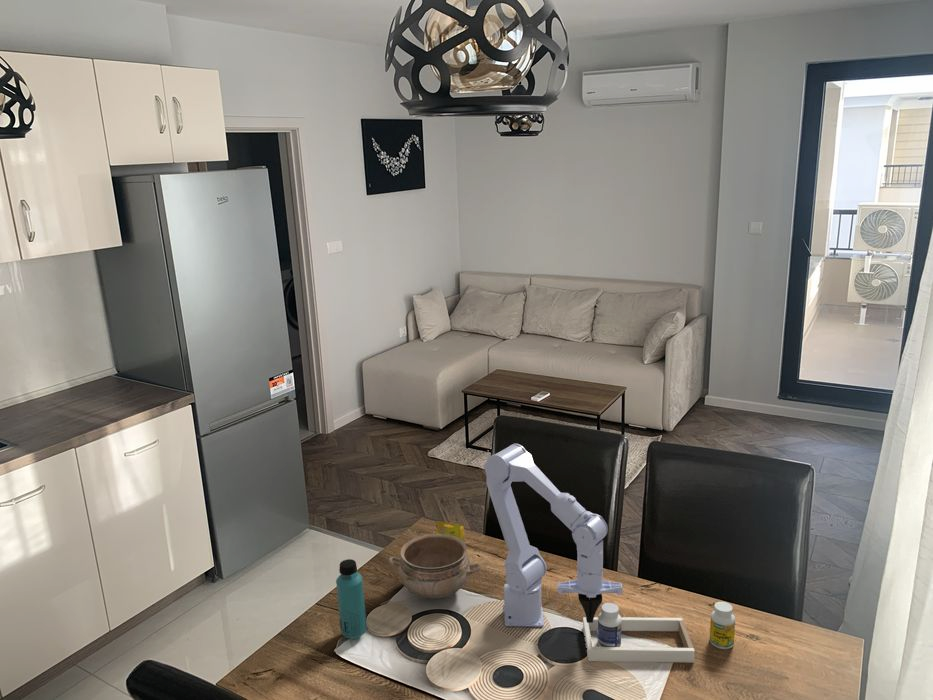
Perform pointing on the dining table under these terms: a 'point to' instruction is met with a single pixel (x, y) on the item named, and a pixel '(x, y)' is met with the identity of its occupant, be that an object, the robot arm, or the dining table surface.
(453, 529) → the crayon box
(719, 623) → the supplement bottle
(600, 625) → the pill bottle
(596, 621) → the corral
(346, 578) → the beverage bottle
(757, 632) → the dining table surface
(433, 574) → the cooking pot
